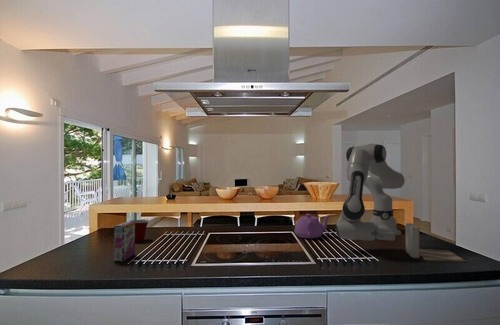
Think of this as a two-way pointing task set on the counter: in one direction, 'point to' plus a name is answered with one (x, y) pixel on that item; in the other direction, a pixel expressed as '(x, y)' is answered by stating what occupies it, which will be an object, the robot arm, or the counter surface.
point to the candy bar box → (124, 241)
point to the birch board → (439, 255)
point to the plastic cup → (140, 229)
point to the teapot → (310, 227)
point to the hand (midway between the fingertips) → (400, 232)
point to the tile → (412, 240)
